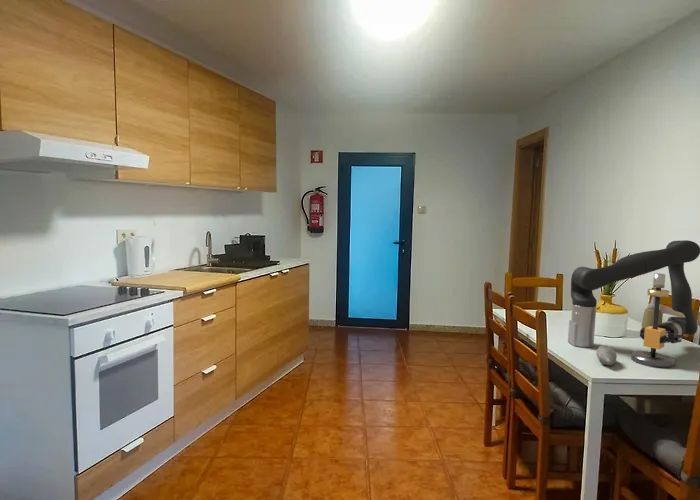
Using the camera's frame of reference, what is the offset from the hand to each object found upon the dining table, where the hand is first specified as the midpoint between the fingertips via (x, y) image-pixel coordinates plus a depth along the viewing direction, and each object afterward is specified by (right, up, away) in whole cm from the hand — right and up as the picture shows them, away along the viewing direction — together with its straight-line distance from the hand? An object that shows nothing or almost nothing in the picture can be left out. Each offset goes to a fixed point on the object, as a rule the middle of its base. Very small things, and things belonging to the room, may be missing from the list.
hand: (651, 338), depth 174 cm
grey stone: (-17, -10, 0) cm, 20 cm away
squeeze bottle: (+26, -6, +41) cm, 49 cm away
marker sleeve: (+2, -3, +2) cm, 4 cm away
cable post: (+2, -9, +2) cm, 10 cm away
